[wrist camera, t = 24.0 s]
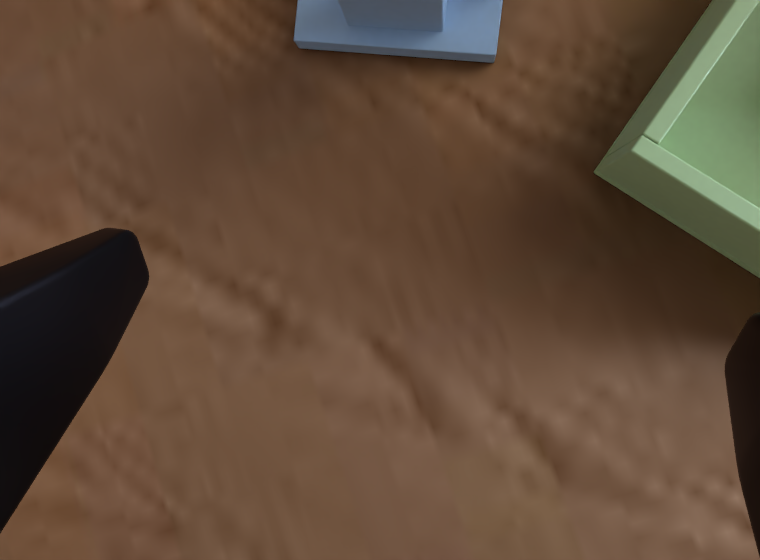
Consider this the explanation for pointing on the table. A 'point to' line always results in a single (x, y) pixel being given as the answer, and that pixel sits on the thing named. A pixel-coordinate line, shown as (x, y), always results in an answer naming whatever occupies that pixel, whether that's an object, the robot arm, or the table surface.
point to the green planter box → (701, 136)
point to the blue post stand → (402, 27)
